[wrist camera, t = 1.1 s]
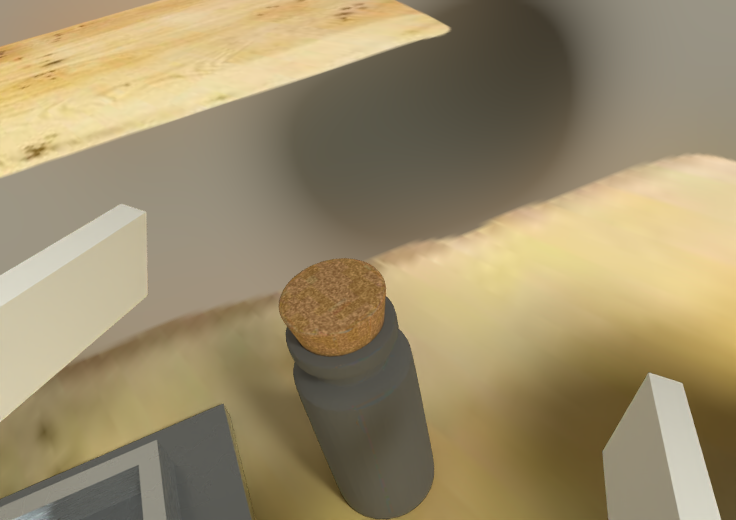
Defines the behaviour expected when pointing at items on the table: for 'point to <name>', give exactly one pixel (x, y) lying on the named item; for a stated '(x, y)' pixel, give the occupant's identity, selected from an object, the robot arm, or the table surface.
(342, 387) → the bottle
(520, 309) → the table surface
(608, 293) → the table surface
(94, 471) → the collar plate
